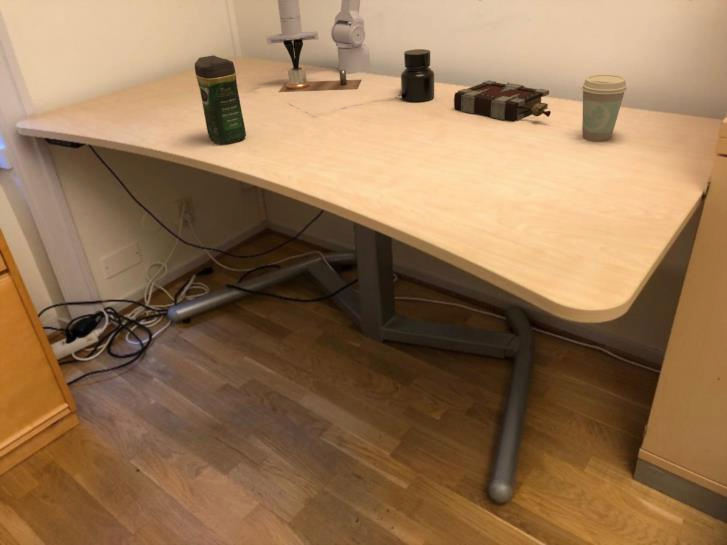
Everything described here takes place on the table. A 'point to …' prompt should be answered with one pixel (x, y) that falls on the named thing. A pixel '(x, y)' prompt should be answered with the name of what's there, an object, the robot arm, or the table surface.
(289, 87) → the hub
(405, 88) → the ink bottle
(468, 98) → the book
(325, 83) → the walnut board
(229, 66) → the coffee jar
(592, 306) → the table surface
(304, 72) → the steel collar
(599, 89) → the coffee cup
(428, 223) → the table surface
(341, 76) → the stand rod
